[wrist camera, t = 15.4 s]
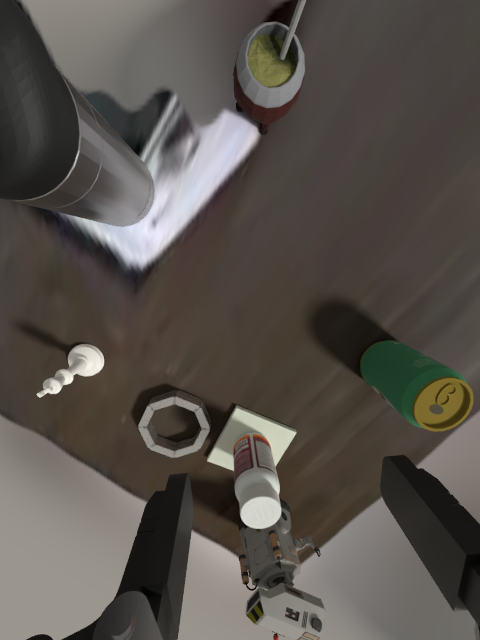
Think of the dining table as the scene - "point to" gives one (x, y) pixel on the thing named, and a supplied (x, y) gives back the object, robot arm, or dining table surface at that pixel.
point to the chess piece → (75, 368)
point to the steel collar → (165, 444)
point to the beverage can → (417, 385)
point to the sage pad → (249, 423)
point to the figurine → (279, 581)
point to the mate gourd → (269, 71)
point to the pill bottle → (256, 481)
